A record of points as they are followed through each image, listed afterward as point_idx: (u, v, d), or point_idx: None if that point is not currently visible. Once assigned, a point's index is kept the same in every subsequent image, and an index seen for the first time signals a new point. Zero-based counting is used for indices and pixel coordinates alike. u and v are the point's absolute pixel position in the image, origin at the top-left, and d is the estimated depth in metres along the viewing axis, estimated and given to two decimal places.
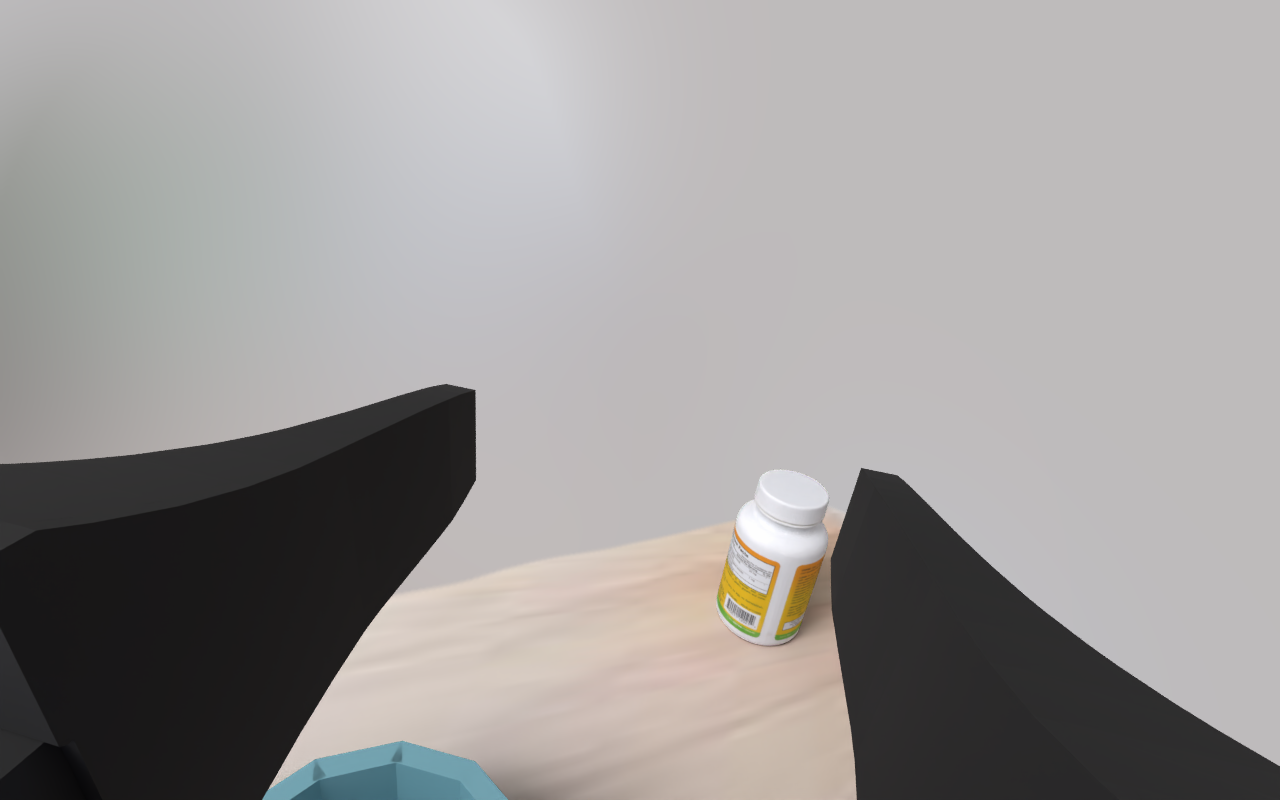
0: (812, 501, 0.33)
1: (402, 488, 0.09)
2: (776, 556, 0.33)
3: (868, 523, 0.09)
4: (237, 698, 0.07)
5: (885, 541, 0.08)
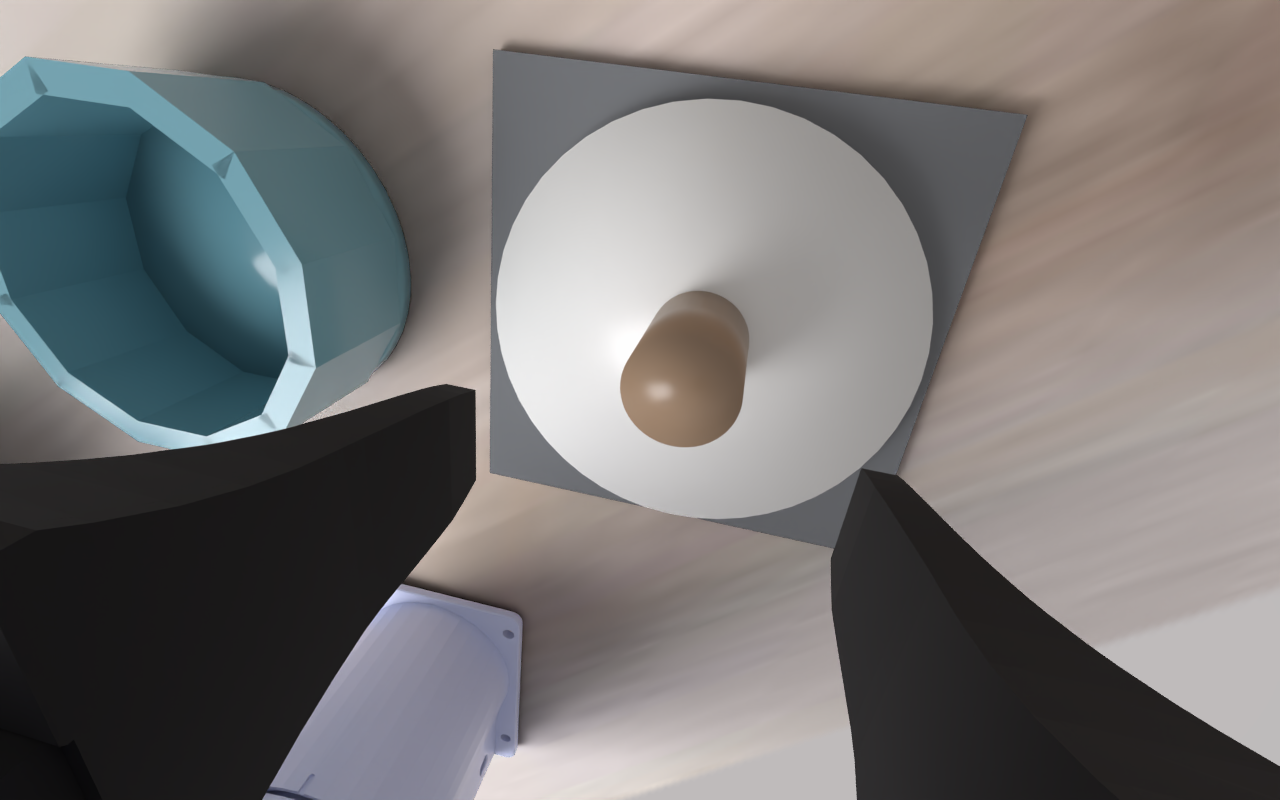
0: None
1: (402, 488, 0.09)
2: None
3: (868, 523, 0.09)
4: (237, 698, 0.07)
5: (885, 541, 0.08)
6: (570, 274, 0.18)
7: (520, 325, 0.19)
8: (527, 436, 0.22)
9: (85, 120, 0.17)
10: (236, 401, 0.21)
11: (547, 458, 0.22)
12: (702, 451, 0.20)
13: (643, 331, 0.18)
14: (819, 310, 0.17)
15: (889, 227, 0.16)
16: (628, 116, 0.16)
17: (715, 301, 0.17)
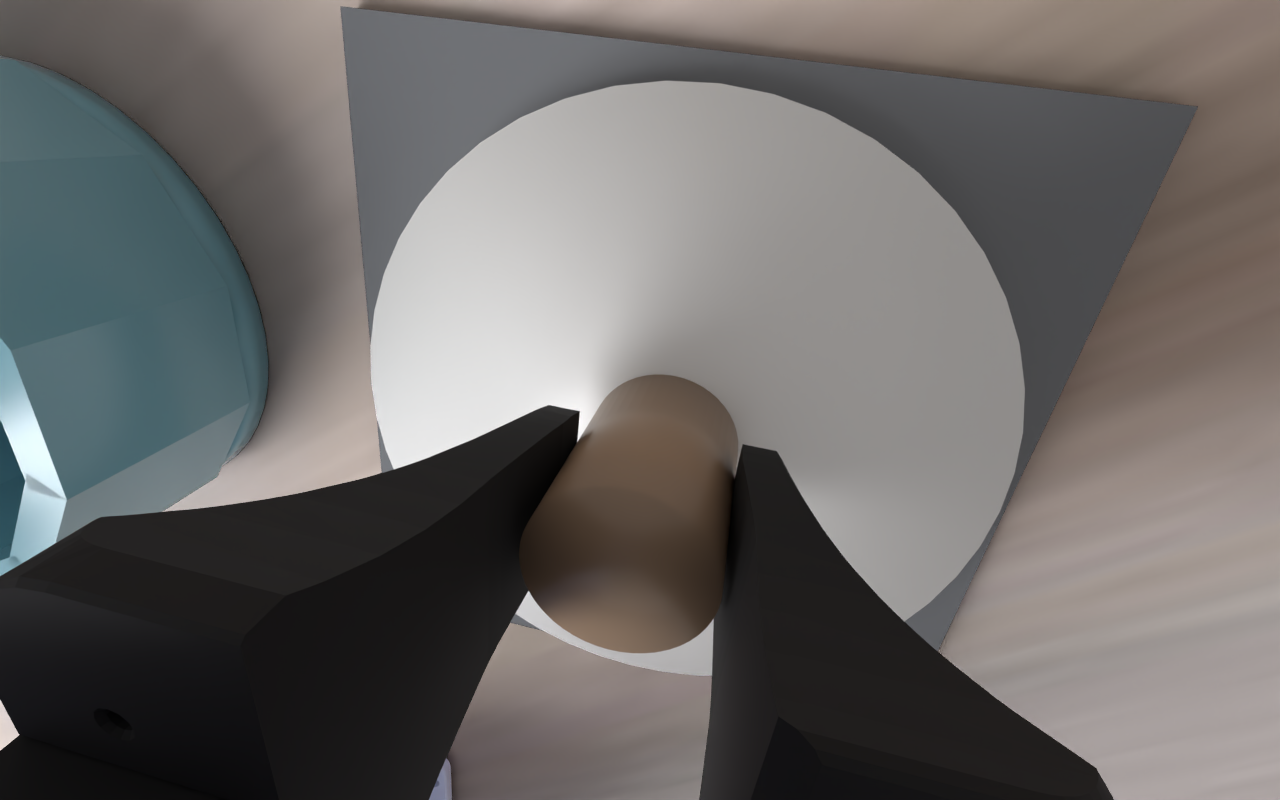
0: None
1: (524, 517, 0.09)
2: None
3: (737, 495, 0.09)
4: (402, 746, 0.06)
5: (741, 510, 0.09)
6: (473, 346, 0.12)
7: (408, 414, 0.13)
8: None
9: None
10: None
11: None
12: None
13: (582, 428, 0.12)
14: (845, 408, 0.11)
15: (960, 287, 0.10)
16: (544, 110, 0.10)
17: (685, 397, 0.11)
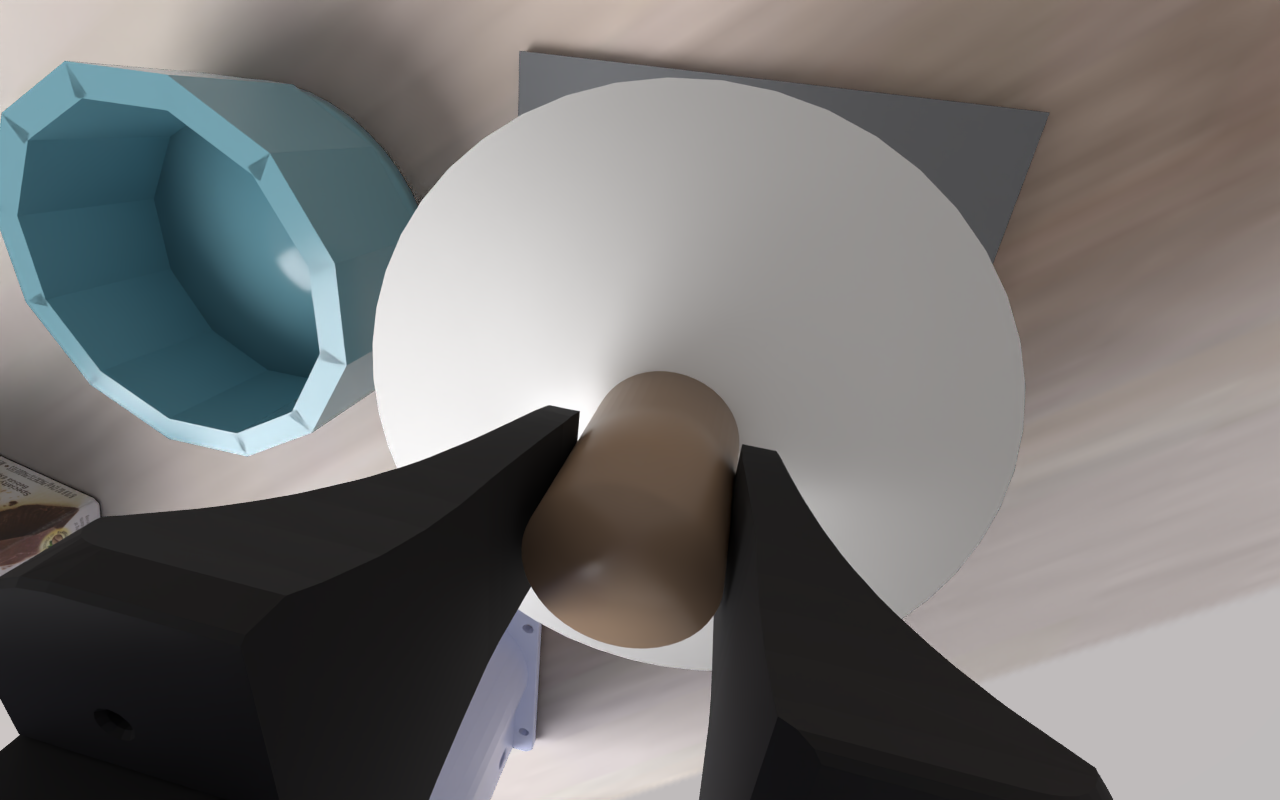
0: None
1: (525, 516, 0.09)
2: None
3: (736, 495, 0.09)
4: (402, 746, 0.06)
5: (741, 510, 0.09)
6: (475, 342, 0.12)
7: (410, 409, 0.13)
8: None
9: (118, 123, 0.17)
10: (263, 398, 0.21)
11: None
12: None
13: (584, 424, 0.12)
14: (846, 404, 0.11)
15: (961, 285, 0.10)
16: (545, 106, 0.10)
17: (685, 395, 0.11)
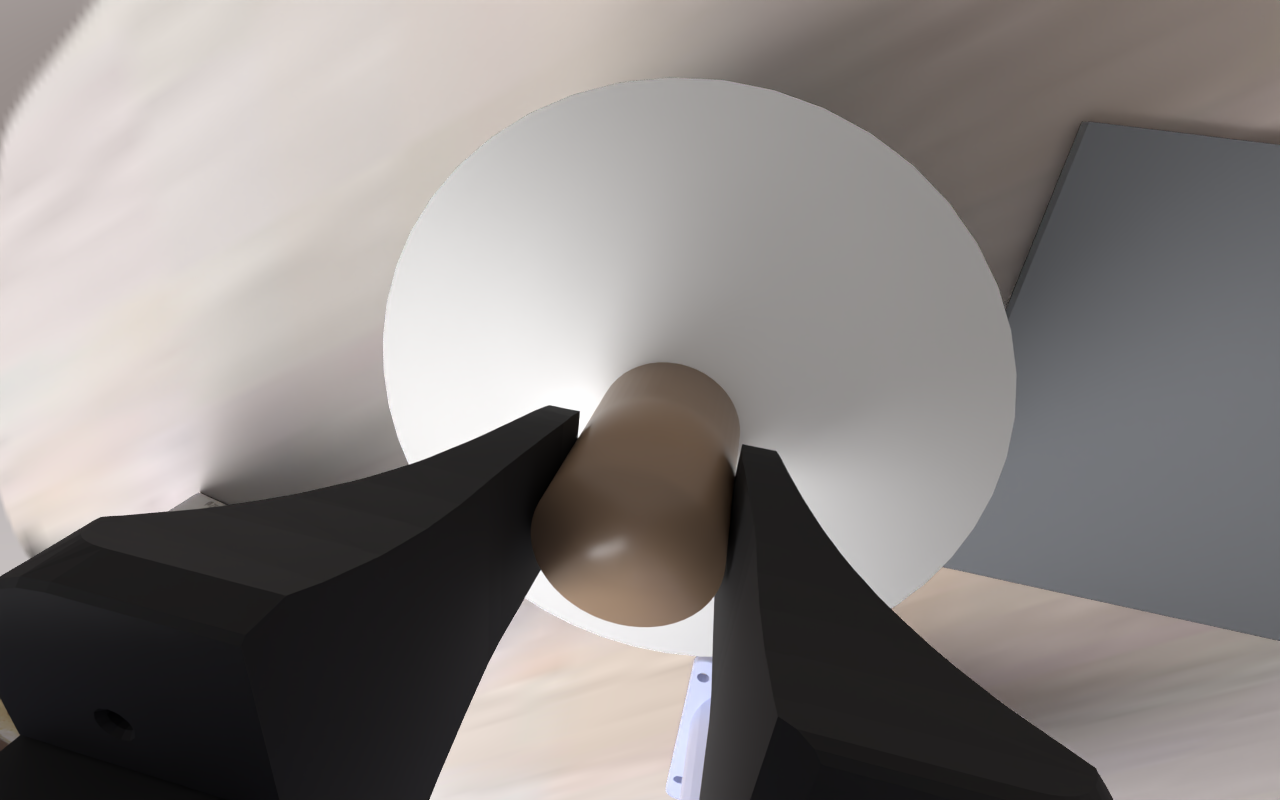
0: None
1: (524, 516, 0.09)
2: None
3: (736, 495, 0.09)
4: (402, 746, 0.06)
5: (741, 510, 0.09)
6: (483, 336, 0.12)
7: (419, 402, 0.14)
8: None
9: None
10: None
11: (989, 547, 0.20)
12: None
13: (589, 415, 0.13)
14: (843, 394, 0.11)
15: (955, 276, 0.10)
16: (552, 106, 0.10)
17: (688, 384, 0.11)
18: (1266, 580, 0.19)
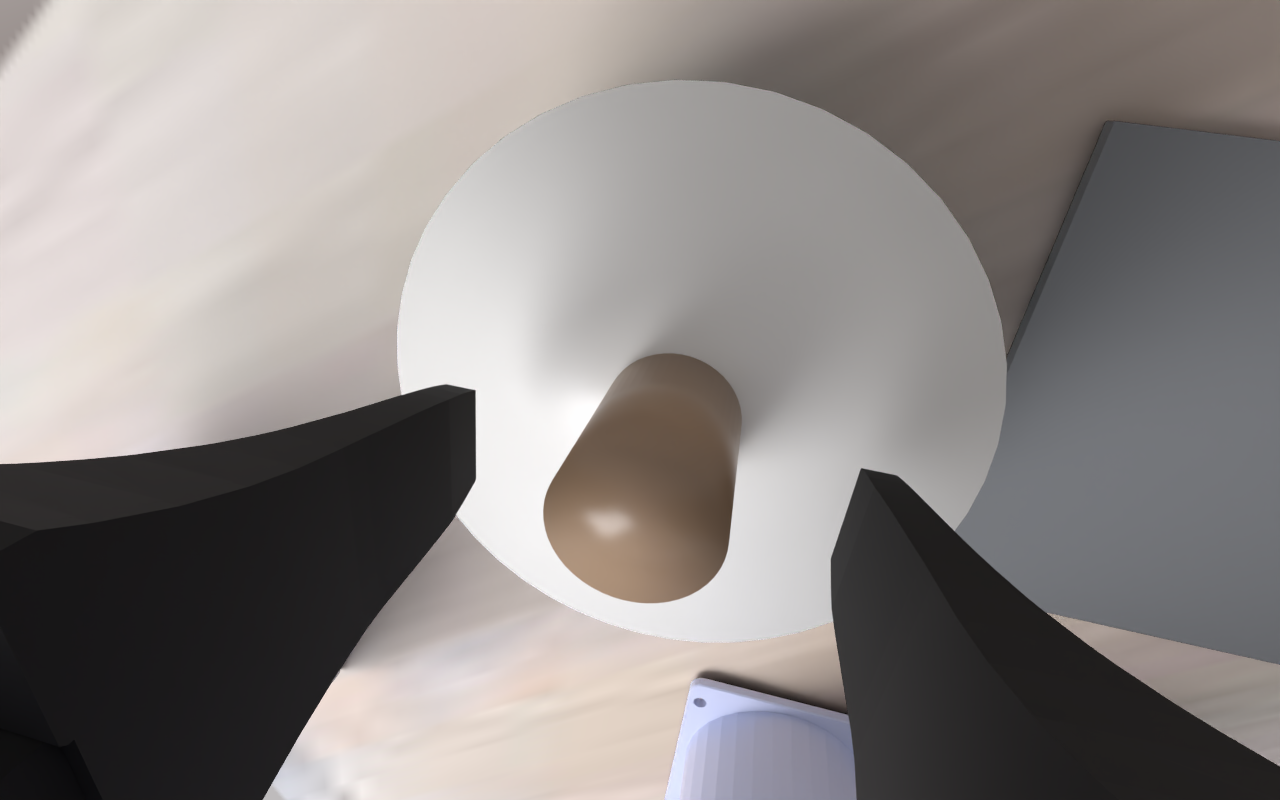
0: None
1: (403, 489, 0.09)
2: None
3: (868, 523, 0.09)
4: (237, 698, 0.07)
5: (885, 541, 0.08)
6: (494, 328, 0.13)
7: None
8: (984, 547, 0.19)
9: None
10: None
11: (1001, 571, 0.19)
12: None
13: (596, 405, 0.13)
14: (841, 383, 0.12)
15: (947, 269, 0.11)
16: (563, 106, 0.11)
17: (692, 373, 0.12)
18: None
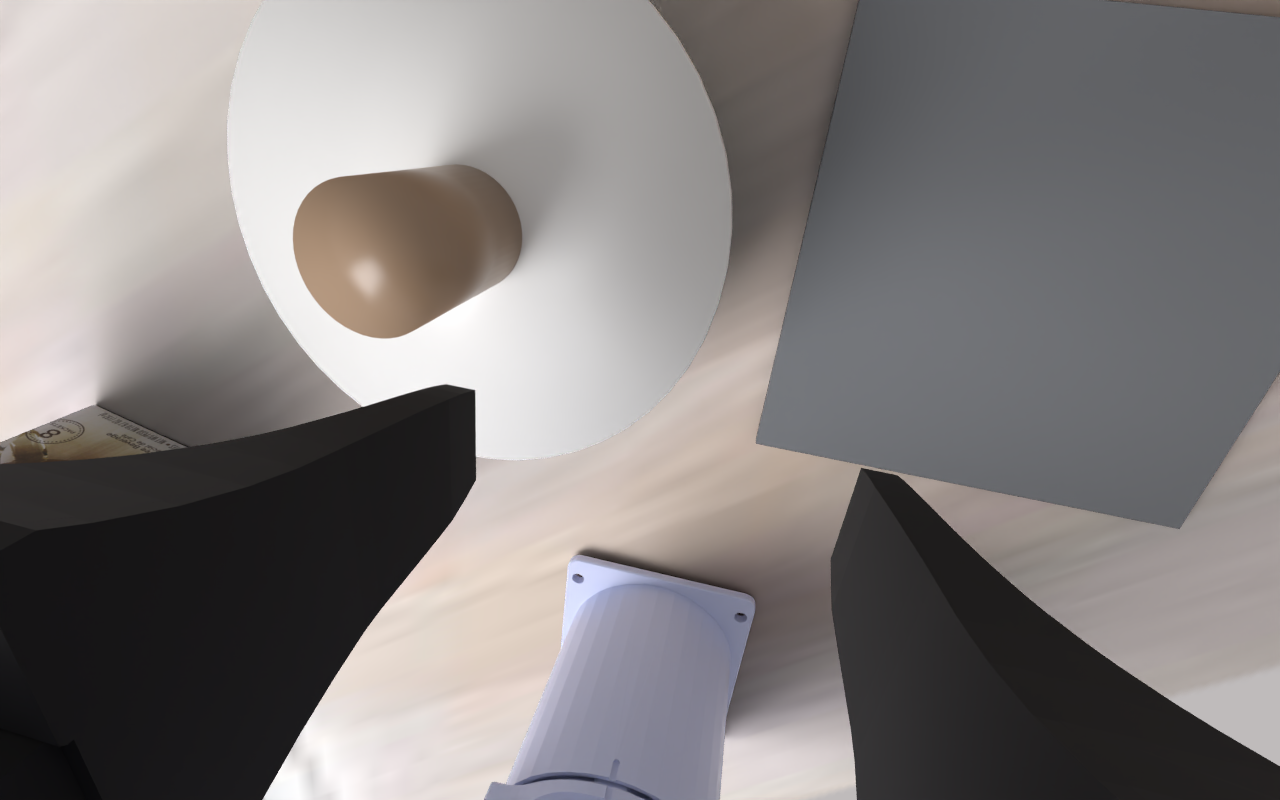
0: None
1: (403, 488, 0.09)
2: None
3: (868, 523, 0.09)
4: (237, 698, 0.07)
5: (885, 541, 0.08)
6: (307, 149, 0.15)
7: (263, 218, 0.16)
8: (809, 403, 0.20)
9: None
10: None
11: (826, 426, 0.21)
12: (491, 374, 0.16)
13: None
14: (596, 184, 0.14)
15: (662, 65, 0.12)
16: None
17: (460, 170, 0.13)
18: (1082, 449, 0.19)
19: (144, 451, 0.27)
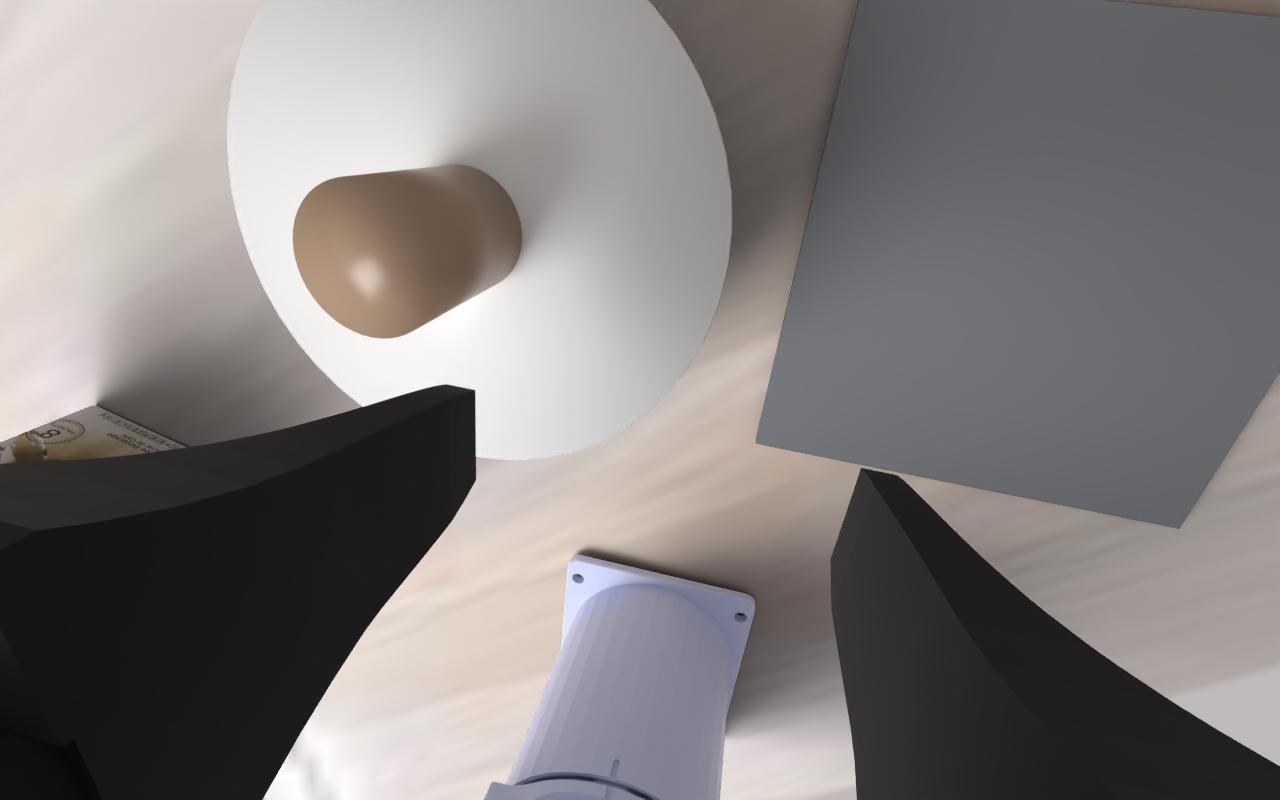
0: None
1: (402, 488, 0.09)
2: None
3: (868, 523, 0.09)
4: (237, 698, 0.07)
5: (885, 541, 0.08)
6: (307, 149, 0.15)
7: (263, 219, 0.16)
8: (808, 403, 0.20)
9: None
10: None
11: (826, 426, 0.21)
12: (491, 374, 0.16)
13: None
14: (595, 184, 0.14)
15: (662, 65, 0.12)
16: None
17: (460, 170, 0.13)
18: (1082, 449, 0.19)
19: (144, 451, 0.27)
